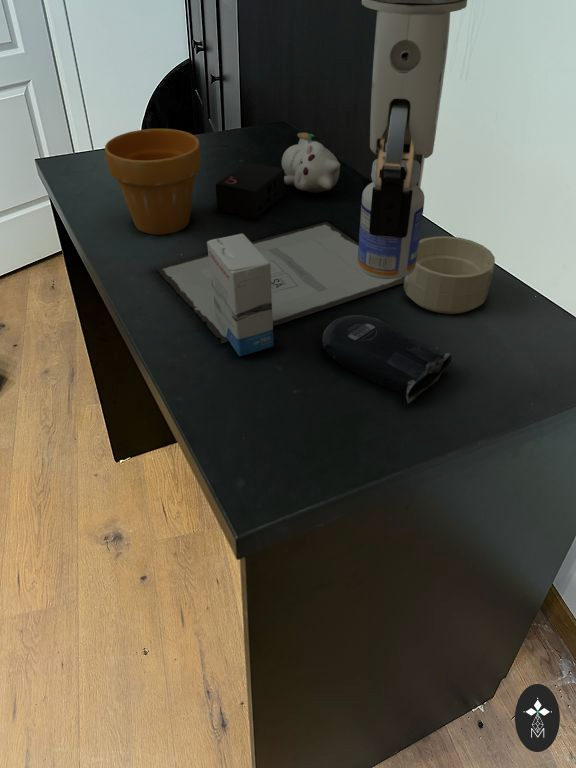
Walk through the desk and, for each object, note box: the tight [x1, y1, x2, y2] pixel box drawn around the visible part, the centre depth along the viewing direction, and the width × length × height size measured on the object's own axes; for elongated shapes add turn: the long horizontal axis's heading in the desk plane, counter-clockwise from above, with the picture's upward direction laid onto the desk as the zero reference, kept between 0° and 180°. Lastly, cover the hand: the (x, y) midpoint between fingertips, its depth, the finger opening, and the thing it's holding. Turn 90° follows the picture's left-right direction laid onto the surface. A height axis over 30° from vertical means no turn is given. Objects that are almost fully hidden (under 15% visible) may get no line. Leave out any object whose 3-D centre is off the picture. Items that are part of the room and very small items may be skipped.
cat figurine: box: [281, 132, 341, 194], centre depth 116 cm, size 10×8×15 cm
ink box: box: [206, 232, 275, 357], centre depth 78 cm, size 9×5×12 cm, turn 25°
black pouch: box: [321, 314, 453, 405], centre depth 77 cm, size 9×6×15 cm
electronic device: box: [215, 161, 285, 220], centre depth 111 cm, size 7×11×5 cm
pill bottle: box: [358, 158, 425, 279], centre depth 58 cm, size 5×5×10 cm
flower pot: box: [104, 128, 202, 236], centre depth 103 cm, size 14×14×13 cm
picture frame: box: [155, 221, 405, 344], centre depth 94 cm, size 22×1×30 cm
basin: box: [403, 235, 496, 315], centre depth 88 cm, size 11×11×6 cm
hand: (391, 217), depth 58 cm, fingers closed on pill bottle, 5 cm apart
